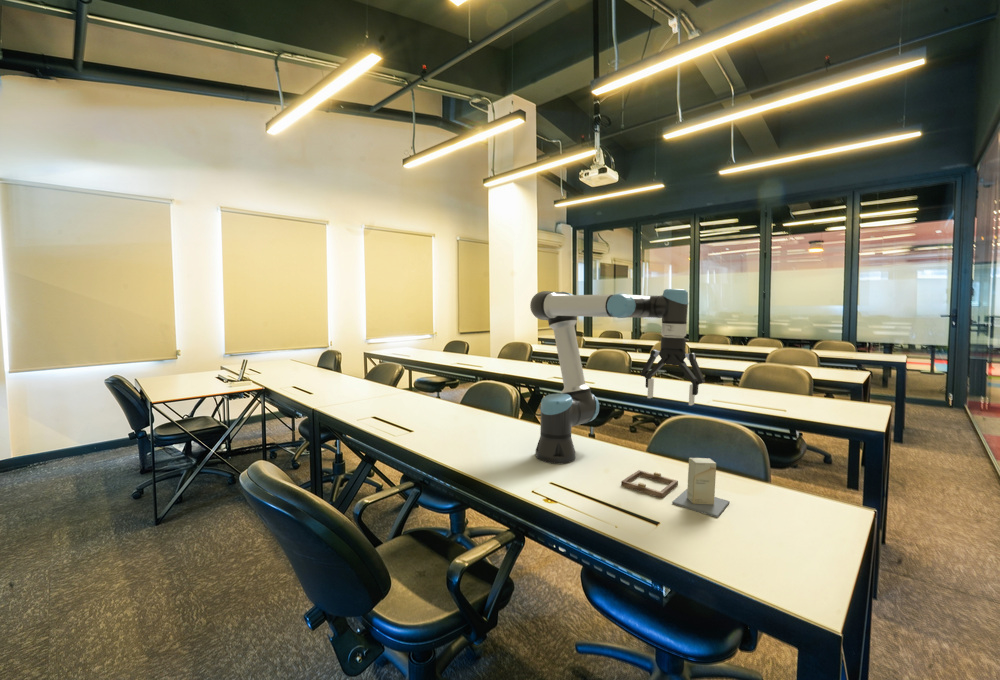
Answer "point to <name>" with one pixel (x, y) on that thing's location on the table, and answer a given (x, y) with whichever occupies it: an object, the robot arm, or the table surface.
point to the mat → (702, 505)
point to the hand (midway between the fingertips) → (670, 401)
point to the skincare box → (701, 481)
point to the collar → (643, 487)
